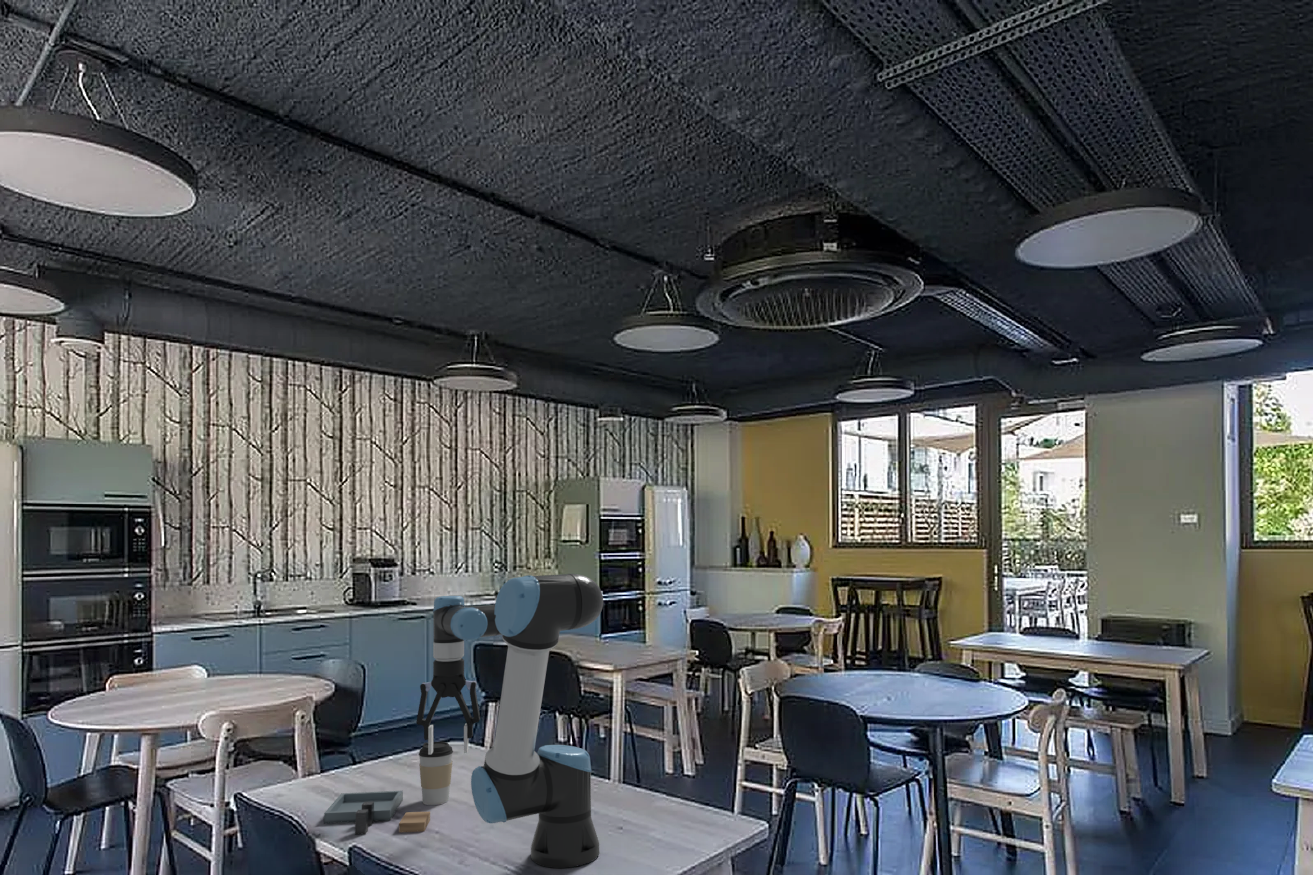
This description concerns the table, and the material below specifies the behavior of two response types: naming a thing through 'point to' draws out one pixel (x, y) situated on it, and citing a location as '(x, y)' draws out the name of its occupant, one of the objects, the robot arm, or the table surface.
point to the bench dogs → (364, 818)
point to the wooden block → (414, 822)
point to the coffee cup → (435, 773)
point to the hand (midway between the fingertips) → (448, 752)
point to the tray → (352, 802)
